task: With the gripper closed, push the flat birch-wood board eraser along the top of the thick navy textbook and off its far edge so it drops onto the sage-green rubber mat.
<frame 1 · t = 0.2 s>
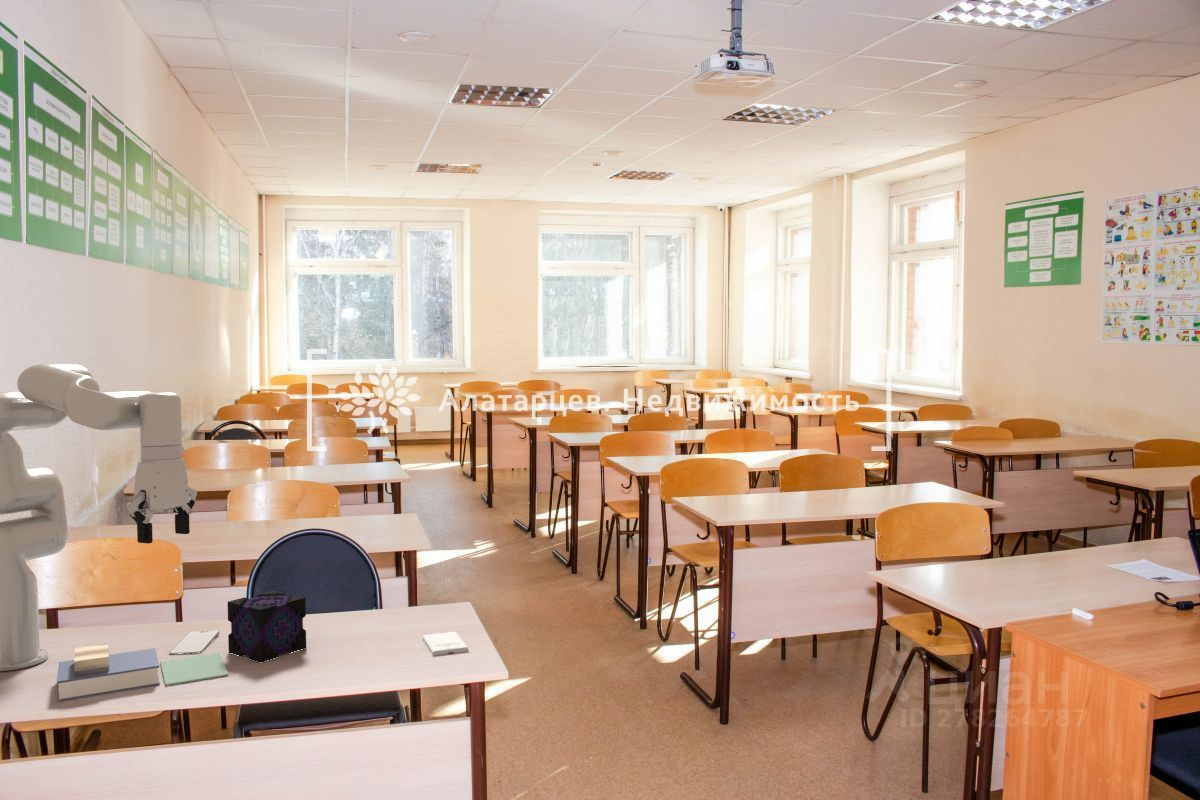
hand: (164, 538, 181), 31 cm above the table, tool pointing down, fingers open, 9 cm apart
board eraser: (91, 659, 184), point 5 cm above the table, touching textbook
mat: (193, 669, 193), on the table
external hard drive: (445, 648, 209), on the table
smartphone: (195, 646, 211), on the table
energy cube: (267, 652, 205), on the table
textbook: (109, 682, 185), on the table
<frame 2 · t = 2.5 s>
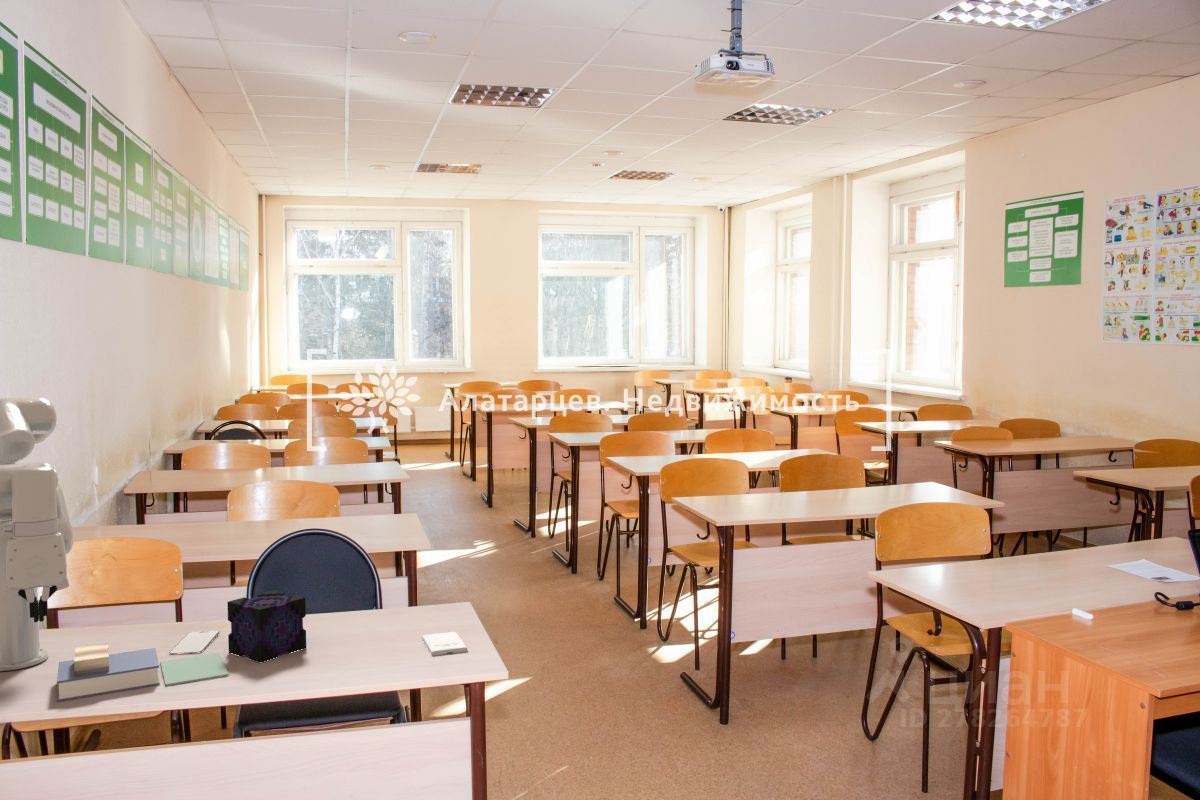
hand: (39, 620, 178), 15 cm above the table, tool pointing down, fingers closed
nothing on the table moved.
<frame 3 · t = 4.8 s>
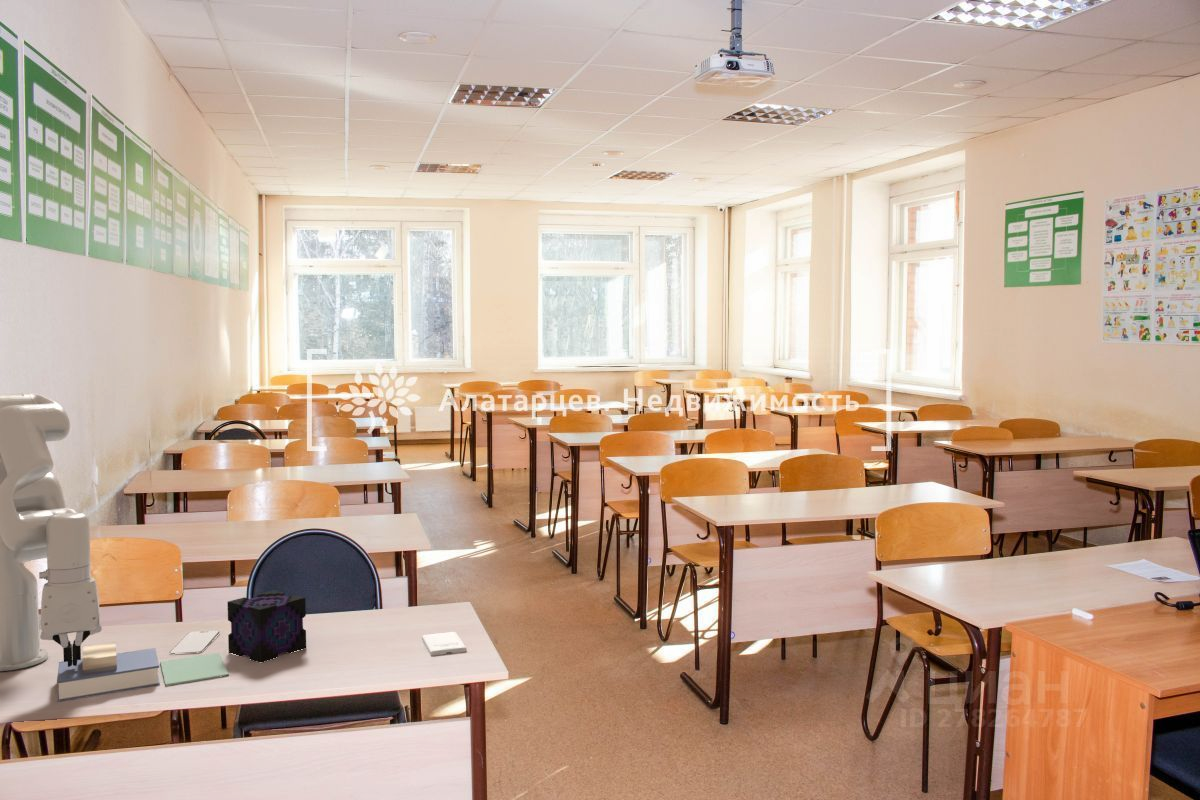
hand: (72, 664, 182), 5 cm above the table, tool pointing down, fingers closed
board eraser: (99, 658, 184), point 6 cm above the table, touching gripper
everything else where it was.
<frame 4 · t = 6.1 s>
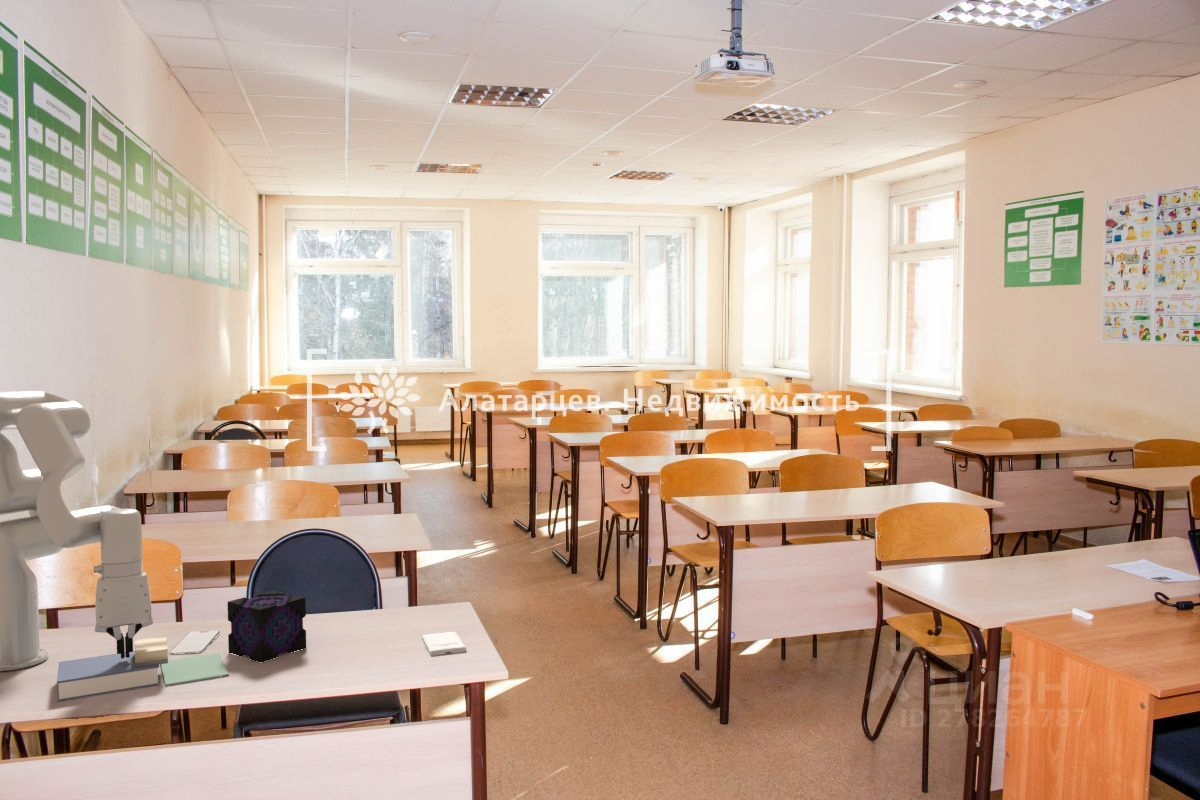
hand: (125, 656, 187), 5 cm above the table, tool pointing down, fingers closed
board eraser: (151, 651, 188), point 6 cm above the table, touching gripper
everything else where it was.
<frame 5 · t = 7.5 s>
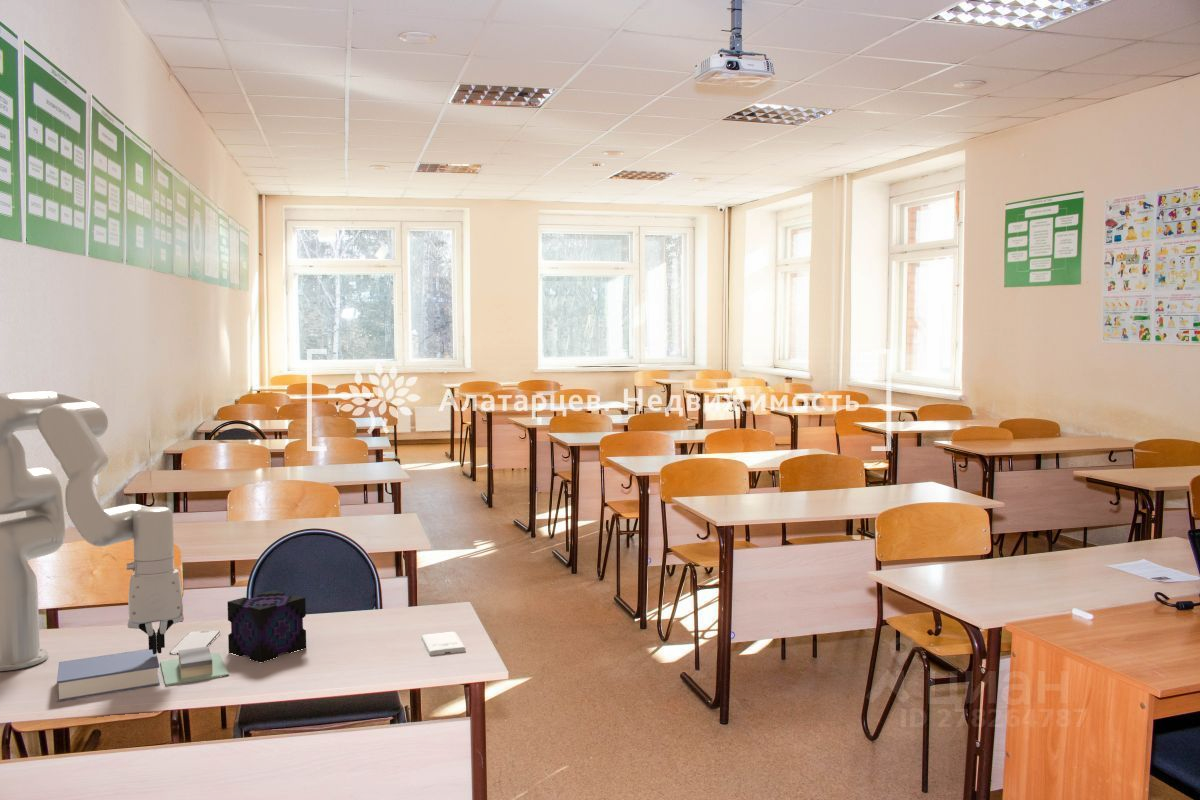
hand: (156, 651, 190), 5 cm above the table, tool pointing down, fingers closed
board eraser: (195, 661, 192), point 2 cm above the table, tilted 180°, touching mat
everything else where it was.
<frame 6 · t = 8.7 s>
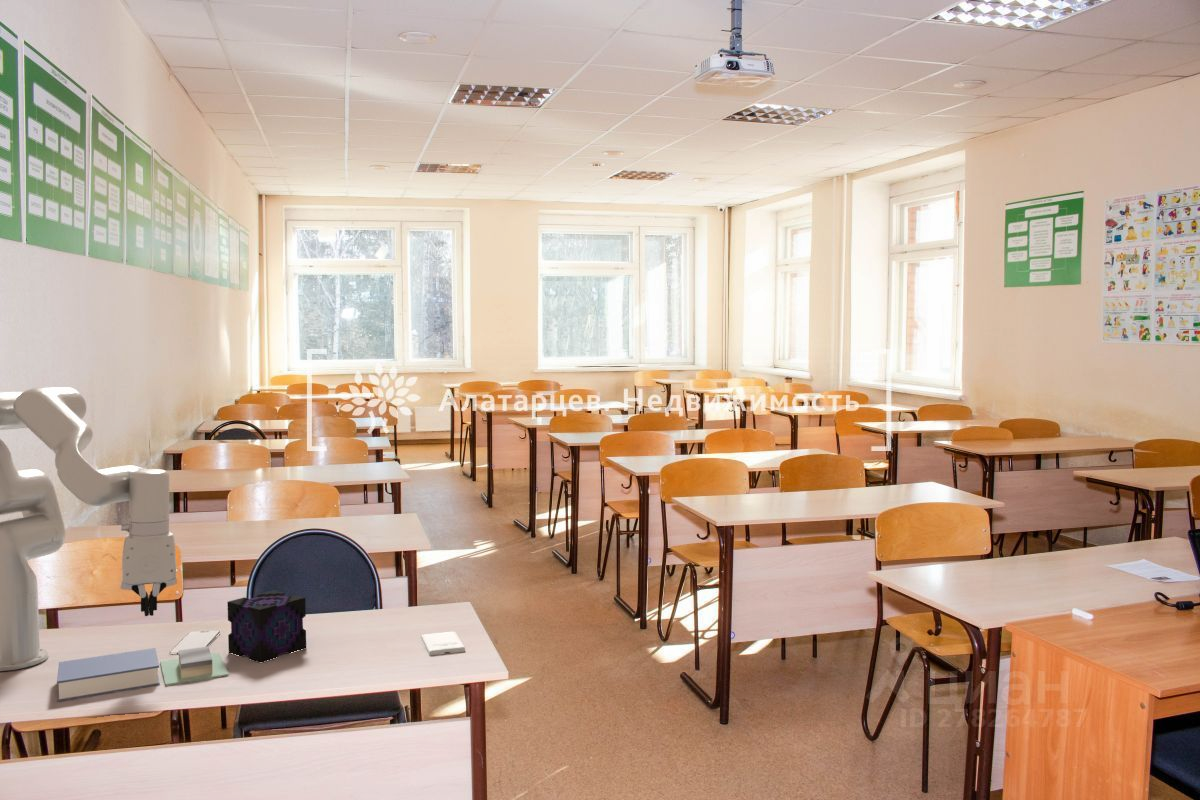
hand: (148, 614, 189), 13 cm above the table, tool pointing down, fingers closed
nothing on the table moved.
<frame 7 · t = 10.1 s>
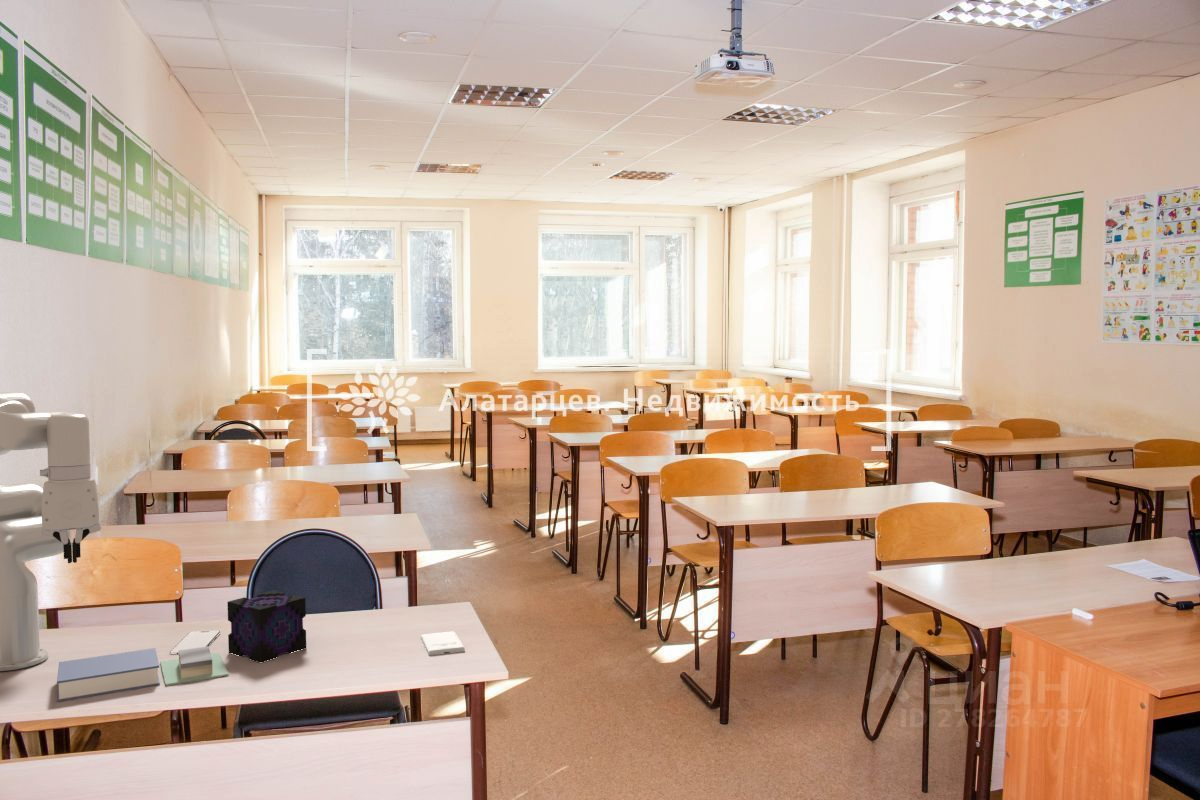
hand: (72, 561, 186), 25 cm above the table, tool pointing down, fingers closed
nothing on the table moved.
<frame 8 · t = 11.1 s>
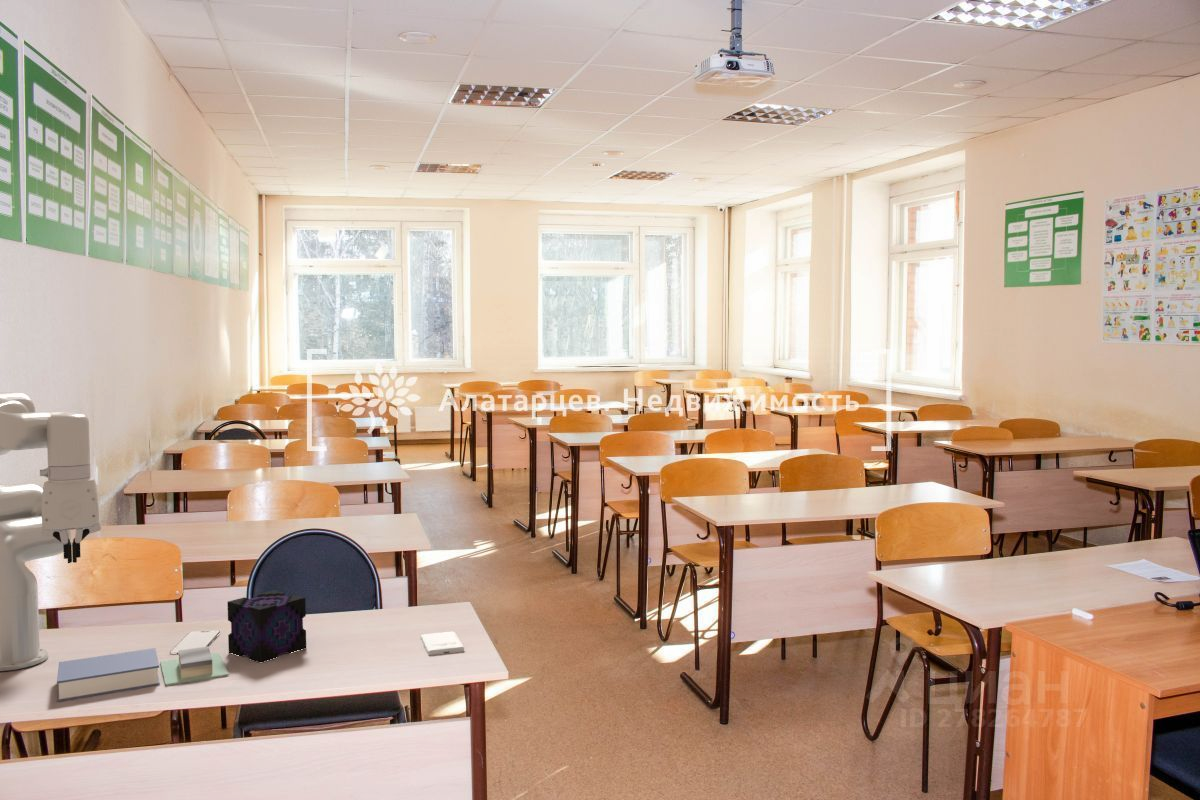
hand: (72, 561, 186), 25 cm above the table, tool pointing down, fingers closed
nothing on the table moved.
at the end: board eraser point 1.9 cm above the table; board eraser inside the target area (1.0 cm from its centre), point 1.9 cm above the table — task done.
